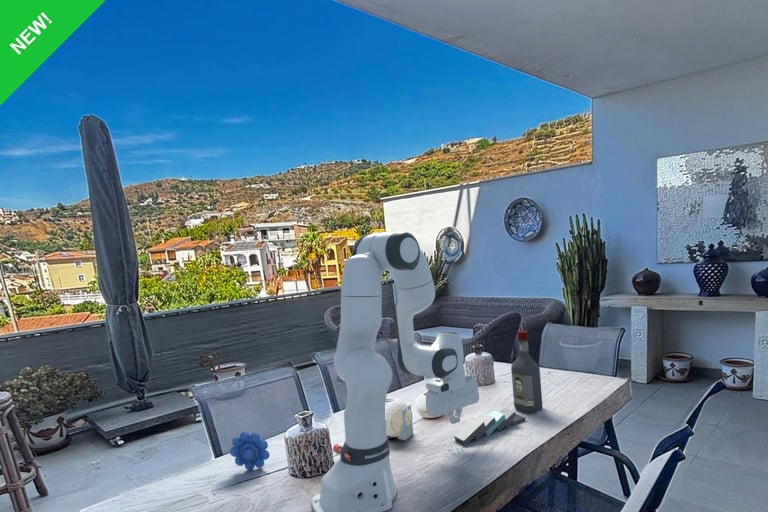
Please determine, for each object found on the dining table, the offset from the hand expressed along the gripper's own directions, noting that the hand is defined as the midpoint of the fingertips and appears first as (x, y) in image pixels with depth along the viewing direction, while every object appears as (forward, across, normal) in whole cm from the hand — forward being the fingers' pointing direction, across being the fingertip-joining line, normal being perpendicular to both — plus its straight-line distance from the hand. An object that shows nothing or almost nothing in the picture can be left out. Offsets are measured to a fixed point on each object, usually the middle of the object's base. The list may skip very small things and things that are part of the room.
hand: (455, 422), depth 133 cm
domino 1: (+6, -1, 0) cm, 6 cm away
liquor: (+7, -41, -4) cm, 42 cm away
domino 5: (+7, -21, 0) cm, 22 cm away
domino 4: (+6, -17, 0) cm, 18 cm away
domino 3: (+6, -11, 0) cm, 13 cm away
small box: (+7, +10, -18) cm, 22 cm away
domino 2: (+6, -6, 0) cm, 9 cm away
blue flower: (+7, +59, -28) cm, 66 cm away
